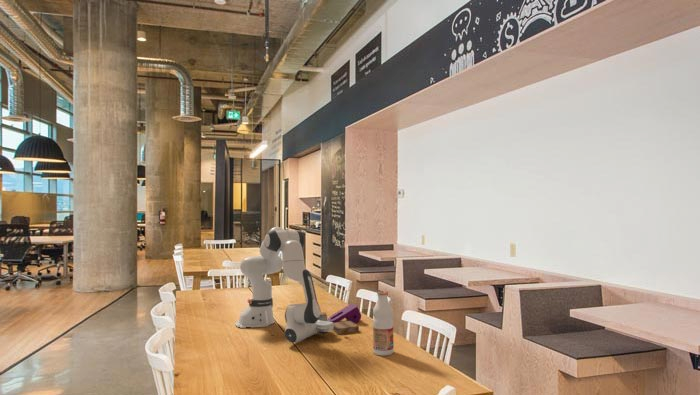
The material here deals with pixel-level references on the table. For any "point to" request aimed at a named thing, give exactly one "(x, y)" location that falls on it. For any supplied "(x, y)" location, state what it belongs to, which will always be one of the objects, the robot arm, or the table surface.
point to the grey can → (322, 319)
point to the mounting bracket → (347, 314)
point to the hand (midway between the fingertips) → (323, 321)
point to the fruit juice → (383, 326)
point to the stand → (345, 327)
